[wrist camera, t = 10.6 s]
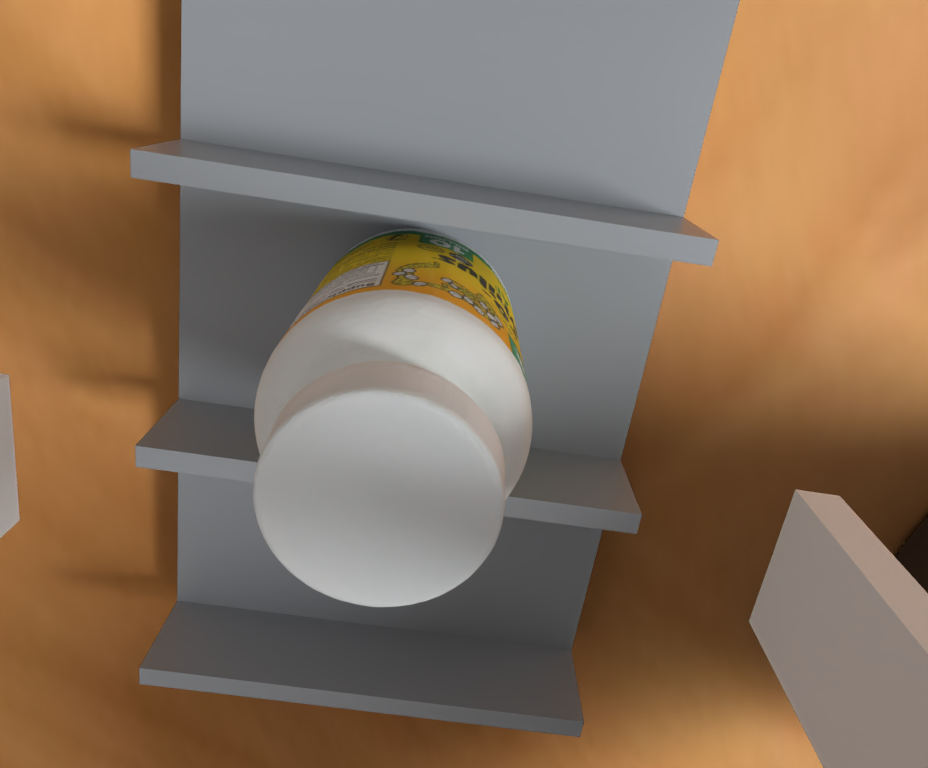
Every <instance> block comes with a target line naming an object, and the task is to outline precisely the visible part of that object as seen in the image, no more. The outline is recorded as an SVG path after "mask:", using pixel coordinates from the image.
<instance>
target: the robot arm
mask: <svg viewBox="0 0 928 768" xmlns="http://www.w3.org/2000/svg"><path fill="white" fill-rule="evenodd" d="M19 520H20V517H19V503H18V489H17V476H16V462H15V449H14V435H13V422H12V408H11V395H10V381H9V375H8V374H1V373H0V538H1V537H2V536H3V535H4V534H5V533H6V532H7V531H8V530H10V529H11V528H12V527H13V526H14V525H15V524H16V523H17V522H18V521H19ZM749 623H750V625H751V627H752V629H753V631H754V633H755V635H756V637H757V639H758V641H759V643H760V645H761V646H762V648H763V650H764V652H765V654H766V656H767V658H768V660H769V662H770V664H771V666H772V668H773V670H774V672H775V674H776V676H777V678H778V680H779V682H780V684H781V686H782V688H783V689H784V691H785V693H786V695H787V697H788V699H789V701H790V703H791V705H792V707H793V709H794V711H795V713H796V715H797V717H798V719H799V721H800V723H801V725H802V727H803V729H804V731H805V733H806V734H807V736H808V738H809V740H810V742H811V744H812V746H813V748H814V750H815V752H816V754H817V756H818V758H819V760H820V762H821V764H822V766H823V768H928V516H927V518H926V519H925V520H924V521H923V522H922V523H921V524H920V525H919V526H918V528H917V529H916V530H915V531H914V533H913V534H912V535H911V536H910V538H909V539H908V540H907V541H906V543H905V544H904V546H903V547H902V549H901V550H900V552H899V553H898V555H897V556H896V558H895V557H894V556H893V554H892V553H891V552H890V551H889V550H888V549H887V548H886V547H885V546H884V544H883V543H882V542H881V541H880V540H879V539H878V538H877V537H876V536H875V534H874V533H873V532H872V531H871V530H870V529H869V528H868V527H867V526H866V524H865V523H864V522H863V521H862V520H861V519H860V518H859V517H858V516H857V514H856V513H855V512H854V511H853V510H852V509H851V508H850V507H849V506H848V504H847V503H846V502H845V501H844V500H843V499H842V498H841V497H840V496H838V495H831V494H824V493H817V492H810V491H804V490H797V489H795V492H794V495H793V498H792V501H791V504H790V506H789V509H788V512H787V515H786V518H785V521H784V523H783V526H782V529H781V532H780V535H779V538H778V540H777V543H776V546H775V549H774V552H773V555H772V557H771V560H770V563H769V566H768V569H767V572H766V574H765V577H764V580H763V583H762V586H761V588H760V591H759V594H758V597H757V600H756V603H755V605H754V608H753V611H752V614H751V617H750V620H749Z"/></svg>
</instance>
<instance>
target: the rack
mask: <svg viewBox="0 0 928 768" xmlns="http://www.w3.org/2000/svg"><path fill="white" fill-rule="evenodd" d="M739 1H740V0H182V5H181V139H178V140H173V141H168V142H163V143H158V144H153V145H148V146H143V147H138V148H133V149H130V163H131V178H137V179H143V180H150V181H157V182H163V183H170V184H176V185H180V289H179V399H178V400H177V401H176V402H175V403H174V404H173V405H172V406H171V408H170V409H169V410H168V411H167V412H166V413H165V414H164V415H163V416H162V417H161V418H160V420H159V421H158V422H157V423H156V424H155V425H154V426H153V427H152V428H151V429H150V430H149V432H148V433H147V434H146V435H145V436H144V437H143V438H142V439H141V440H140V441H139V442H138V443H137V445H136V446H135V452H136V467H142V468H149V469H156V470H164V471H171V472H178V574H177V602H176V604H175V605H174V607H173V609H172V611H171V613H170V614H169V616H168V618H167V620H166V621H165V623H164V625H163V627H162V628H161V630H160V632H159V634H158V636H157V637H156V639H155V641H154V643H153V644H152V646H151V648H150V650H149V652H148V653H147V655H146V657H145V659H144V660H143V662H142V664H141V666H140V667H139V684H144V685H152V686H160V687H169V688H177V689H185V690H194V691H202V692H210V693H218V694H227V695H235V696H243V697H252V698H260V699H268V700H277V701H285V702H293V703H301V704H310V705H318V706H326V707H335V708H343V709H351V710H360V711H368V712H376V713H384V714H393V715H401V716H409V717H418V718H426V719H434V720H443V721H451V722H459V723H467V724H476V725H484V726H492V727H501V728H509V729H517V730H526V731H534V732H542V733H550V734H559V735H567V736H575V737H580V735H581V731H582V728H583V724H584V719H583V713H582V708H581V702H580V696H579V691H578V685H577V679H576V674H575V668H574V662H573V657H572V651H571V650H572V646H573V642H574V638H575V634H576V630H577V626H578V623H579V619H580V615H581V611H582V607H583V603H584V599H585V596H586V592H587V588H588V584H589V580H590V576H591V572H592V569H593V565H594V561H595V557H596V553H597V549H598V545H599V542H600V538H601V534H602V530H610V531H618V532H625V533H633V534H637V531H638V528H639V524H640V520H641V517H642V513H641V510H640V508H639V505H638V503H637V500H636V498H635V495H634V493H633V490H632V488H631V485H630V483H629V480H628V478H627V475H626V472H625V470H624V467H623V465H622V462H621V457H622V453H623V449H624V445H625V441H626V437H627V434H628V430H629V426H630V422H631V418H632V414H633V410H634V406H635V403H636V399H637V395H638V391H639V387H640V383H641V379H642V376H643V372H644V368H645V364H646V360H647V356H648V352H649V349H650V345H651V341H652V337H653V333H654V329H655V325H656V322H657V318H658V314H659V310H660V306H661V302H662V298H663V295H664V291H665V287H666V283H667V279H668V275H669V271H670V268H671V264H672V260H673V261H679V262H686V263H693V264H699V265H706V266H712V263H713V260H714V256H715V253H716V249H717V246H718V242H719V240H718V239H716V238H715V237H713V236H712V235H710V234H709V233H707V232H705V231H704V230H702V229H701V228H699V227H698V226H696V225H695V224H693V223H691V222H690V221H688V220H687V219H685V218H684V214H685V210H686V206H687V202H688V198H689V194H690V190H691V187H692V183H693V179H694V175H695V171H696V167H697V163H698V159H699V156H700V152H701V148H702V144H703V140H704V136H705V132H706V129H707V125H708V121H709V117H710V113H711V109H712V105H713V102H714V98H715V94H716V90H717V86H718V82H719V78H720V75H721V71H722V67H723V63H724V59H725V55H726V51H727V48H728V44H729V40H730V36H731V32H732V28H733V24H734V21H735V17H736V13H737V9H738V5H739ZM403 228H415V229H424V230H429V231H433V232H437V233H440V234H443V235H446V236H448V237H451V238H453V239H456V240H458V241H460V242H462V243H464V244H466V245H468V246H469V247H471V248H472V249H474V250H475V251H477V252H478V253H479V254H480V255H482V256H483V257H484V258H485V259H486V260H487V261H488V262H489V263H490V265H491V266H492V267H493V268H494V270H495V271H496V272H497V274H498V275H499V277H500V279H501V281H502V282H503V284H504V286H505V288H506V290H507V293H508V296H509V298H510V302H511V305H512V310H513V315H514V320H515V325H516V330H517V335H518V340H519V345H520V351H521V355H522V360H523V365H524V370H525V374H526V379H527V385H528V389H529V394H530V399H531V408H532V439H531V444H530V450H529V454H528V457H527V461H526V464H525V467H524V469H523V472H522V474H521V476H520V478H519V480H518V482H517V483H516V485H515V487H514V489H513V490H512V492H511V493H510V495H509V496H508V497H507V499H506V500H505V509H504V517H503V522H502V526H501V530H500V533H499V535H498V538H497V540H496V543H495V545H494V547H493V549H492V550H491V552H490V554H489V555H488V556H487V558H486V559H485V560H484V562H483V563H482V564H481V565H480V567H479V568H478V569H477V570H476V571H475V572H474V573H473V574H472V575H471V576H470V577H469V578H468V579H466V580H465V581H464V582H462V583H461V584H459V585H458V586H456V587H455V588H453V589H451V590H450V591H448V592H446V593H444V594H442V595H440V596H438V597H435V598H433V599H430V600H427V601H425V602H419V603H416V604H412V605H404V606H397V607H370V606H364V605H358V604H353V603H349V602H345V601H341V600H338V599H335V598H333V597H330V596H327V595H325V594H323V593H321V592H319V591H317V590H315V589H313V588H311V587H310V586H308V585H306V584H305V583H304V582H302V581H301V580H299V579H298V578H297V577H295V576H294V575H293V574H292V573H290V572H289V571H288V570H287V569H286V568H285V567H284V565H283V564H282V563H281V562H280V561H279V560H278V559H277V558H276V556H275V555H274V553H273V552H272V551H271V549H270V547H269V546H268V544H267V542H266V541H265V539H264V537H263V535H262V532H261V530H260V527H259V525H258V522H257V518H256V514H255V510H254V503H253V484H254V474H255V470H256V466H257V463H258V459H259V457H260V453H259V449H258V446H257V441H256V435H255V426H254V408H255V400H256V395H257V389H258V386H259V382H260V379H261V376H262V373H263V371H264V369H265V367H266V364H267V362H268V360H269V358H270V356H271V354H272V353H273V351H274V350H275V348H276V347H277V345H278V344H279V342H280V341H281V339H282V337H283V336H284V334H285V333H286V331H287V330H288V329H289V328H290V326H291V325H292V323H293V322H294V320H295V319H296V317H297V316H298V315H299V313H300V312H301V311H302V309H303V308H304V306H305V305H306V304H307V302H308V301H309V299H310V298H311V297H312V295H313V294H314V292H315V291H316V289H317V288H318V286H319V284H320V283H321V282H322V280H323V279H324V278H325V276H326V275H327V274H328V272H329V271H330V270H331V268H332V267H333V266H334V265H335V264H336V263H337V261H338V260H339V259H340V258H341V257H342V256H343V255H344V254H345V253H346V252H348V251H349V250H350V249H351V248H352V247H354V246H355V245H357V244H358V243H360V242H362V241H363V240H365V239H367V238H369V237H371V236H374V235H376V234H379V233H382V232H386V231H389V230H395V229H403Z"/></svg>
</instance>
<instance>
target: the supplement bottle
mask: <svg viewBox="0 0 928 768" xmlns="http://www.w3.org/2000/svg"><path fill="white" fill-rule="evenodd" d="M254 426H255V435H256V441H257V446H258V449H259V453H260V457H259V459H258V463H257V466H256V470H255V474H254V484H253V503H254V510H255V514H256V518H257V522H258V525H259V527H260V530H261V532H262V535H263V537H264V539H265V541H266V542H267V544H268V546H269V547H270V549H271V551H272V552H273V553H274V555H275V556H276V558H277V559H278V560H279V561H280V562H281V563H282V564H283V565H284V567H285V568H286V569H287V570H288V571H289V572H290V573H292V574H293V575H294V576H295V577H297V578H298V579H299V580H301V581H302V582H304V583H305V584H306V585H308V586H310V587H311V588H313V589H315V590H317V591H319V592H321V593H323V594H325V595H327V596H330V597H333V598H335V599H338V600H341V601H345V602H349V603H353V604H358V605H364V606H370V607H397V606H404V605H412V604H416V603H419V602H425V601H427V600H430V599H433V598H435V597H438V596H440V595H442V594H444V593H446V592H448V591H450V590H451V589H453V588H455V587H456V586H458V585H459V584H461V583H462V582H464V581H465V580H466V579H468V578H469V577H470V576H471V575H472V574H473V573H474V572H475V571H476V570H477V569H478V568H479V567H480V565H481V564H482V563H483V562H484V560H485V559H486V558H487V556H488V555H489V554H490V552H491V550H492V549H493V547H494V545H495V543H496V540H497V538H498V535H499V533H500V530H501V526H502V522H503V517H504V509H505V500H506V499H507V497H508V496H509V495H510V493H511V492H512V490H513V489H514V487H515V485H516V483H517V482H518V480H519V478H520V476H521V474H522V472H523V469H524V467H525V464H526V461H527V457H528V454H529V450H530V444H531V439H532V408H531V399H530V394H529V389H528V385H527V379H526V374H525V370H524V365H523V360H522V355H521V351H520V345H519V340H518V335H517V330H516V325H515V320H514V315H513V310H512V305H511V302H510V298H509V296H508V293H507V290H506V288H505V286H504V284H503V282H502V281H501V279H500V277H499V275H498V274H497V272H496V271H495V270H494V268H493V267H492V266H491V265H490V263H489V262H488V261H487V260H486V259H485V258H484V257H483V256H482V255H480V254H479V253H478V252H477V251H475V250H474V249H472V248H471V247H469V246H468V245H466V244H464V243H462V242H460V241H458V240H456V239H453V238H451V237H448V236H446V235H443V234H440V233H437V232H433V231H429V230H424V229H415V228H403V229H395V230H389V231H386V232H382V233H379V234H376V235H374V236H371V237H369V238H367V239H365V240H363V241H362V242H360V243H358V244H357V245H355V246H354V247H352V248H351V249H350V250H349V251H348V252H346V253H345V254H344V255H343V256H342V257H341V258H340V259H339V260H338V261H337V263H336V264H335V265H334V266H333V267H332V268H331V270H330V271H329V272H328V274H327V275H326V276H325V278H324V279H323V280H322V282H321V283H320V284H319V286H318V288H317V289H316V291H315V292H314V294H313V295H312V297H311V298H310V299H309V301H308V302H307V304H306V305H305V306H304V308H303V309H302V311H301V312H300V313H299V315H298V316H297V317H296V319H295V320H294V322H293V323H292V325H291V326H290V328H289V329H288V330H287V331H286V333H285V334H284V336H283V337H282V339H281V341H280V342H279V344H278V345H277V347H276V348H275V350H274V351H273V353H272V354H271V356H270V358H269V360H268V362H267V364H266V367H265V369H264V371H263V373H262V376H261V379H260V382H259V386H258V389H257V395H256V400H255V408H254Z"/></svg>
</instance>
